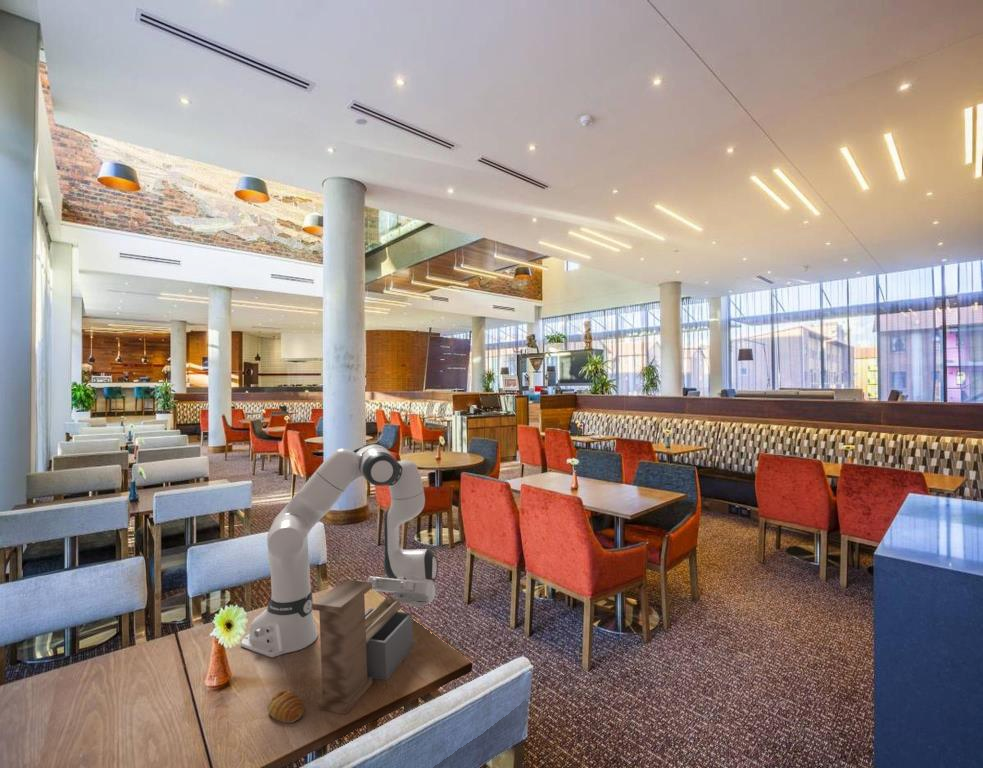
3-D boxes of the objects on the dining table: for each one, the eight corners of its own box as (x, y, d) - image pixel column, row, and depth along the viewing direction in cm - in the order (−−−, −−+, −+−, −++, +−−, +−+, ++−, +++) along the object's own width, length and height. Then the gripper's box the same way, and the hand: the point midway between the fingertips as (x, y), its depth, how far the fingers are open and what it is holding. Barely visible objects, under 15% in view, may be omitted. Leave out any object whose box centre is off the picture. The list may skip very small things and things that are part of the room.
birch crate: (351, 641, 128) (351, 630, 128) (386, 607, 146) (386, 597, 146) (366, 643, 127) (365, 632, 127) (399, 609, 145) (399, 599, 145)
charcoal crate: (340, 672, 131) (339, 636, 131) (371, 640, 146) (370, 608, 146) (386, 680, 127) (385, 642, 127) (413, 647, 142) (412, 613, 142)
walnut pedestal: (315, 710, 116) (311, 603, 116) (349, 675, 130) (345, 579, 129) (344, 715, 114) (340, 607, 113) (375, 679, 127) (371, 582, 127)
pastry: (312, 713, 115) (311, 697, 115) (285, 730, 110) (284, 714, 110) (290, 698, 121) (290, 683, 121) (264, 714, 116) (263, 698, 116)
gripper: (380, 575, 159) (359, 568, 147) (437, 581, 153) (420, 574, 141) (376, 595, 156) (354, 591, 144) (434, 602, 150) (416, 598, 138)
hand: (388, 583), depth 143 cm, fingers open, 8 cm apart
